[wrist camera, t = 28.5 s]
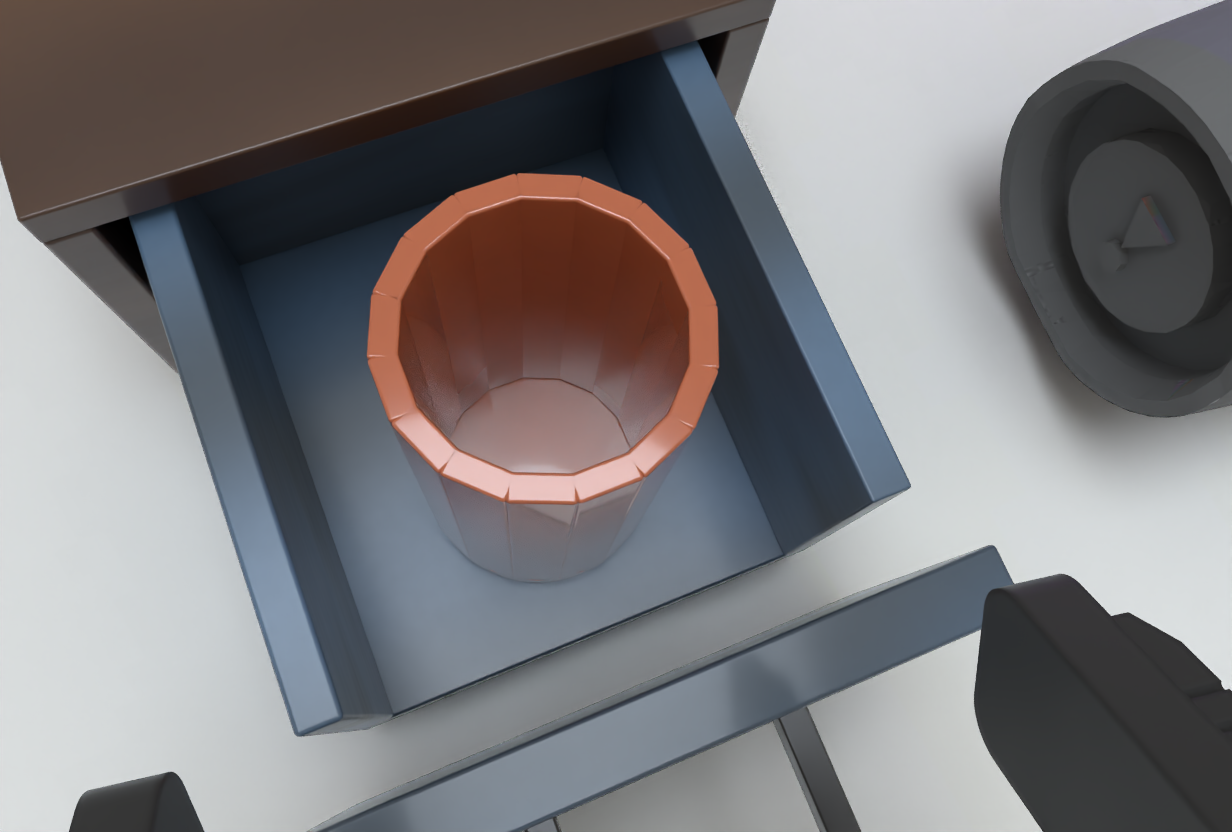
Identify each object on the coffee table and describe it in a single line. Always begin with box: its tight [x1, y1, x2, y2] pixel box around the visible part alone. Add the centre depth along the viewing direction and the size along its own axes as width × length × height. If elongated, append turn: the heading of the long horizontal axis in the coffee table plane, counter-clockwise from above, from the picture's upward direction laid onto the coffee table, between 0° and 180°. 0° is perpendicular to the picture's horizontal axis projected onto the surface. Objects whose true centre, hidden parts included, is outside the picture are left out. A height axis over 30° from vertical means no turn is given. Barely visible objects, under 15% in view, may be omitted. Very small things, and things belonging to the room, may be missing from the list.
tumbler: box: [366, 173, 719, 583], centre depth 20 cm, size 5×5×10 cm
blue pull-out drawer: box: [128, 40, 1014, 832], centre depth 21 cm, size 20×13×8 cm, turn 22°
